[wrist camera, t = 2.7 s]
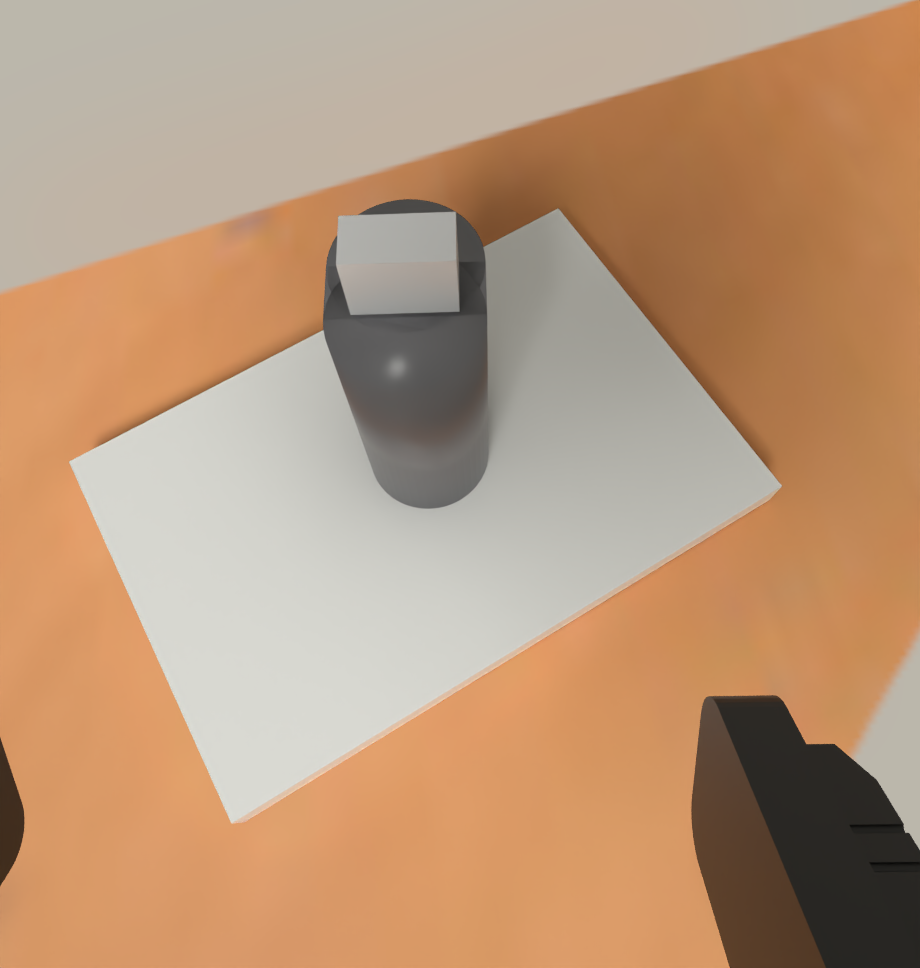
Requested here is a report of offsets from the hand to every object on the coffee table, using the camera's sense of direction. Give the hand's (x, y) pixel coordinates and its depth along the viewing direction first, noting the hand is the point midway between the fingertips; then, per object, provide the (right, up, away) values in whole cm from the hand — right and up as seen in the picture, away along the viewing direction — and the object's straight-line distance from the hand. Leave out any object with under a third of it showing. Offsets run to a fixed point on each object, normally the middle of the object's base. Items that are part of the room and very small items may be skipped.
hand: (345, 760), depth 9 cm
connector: (0, +5, +16) cm, 17 cm away
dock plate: (0, +3, +16) cm, 17 cm away
